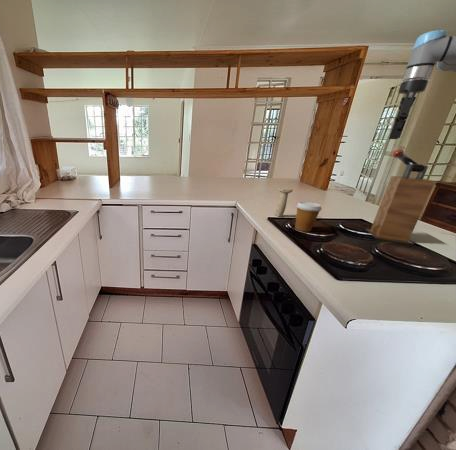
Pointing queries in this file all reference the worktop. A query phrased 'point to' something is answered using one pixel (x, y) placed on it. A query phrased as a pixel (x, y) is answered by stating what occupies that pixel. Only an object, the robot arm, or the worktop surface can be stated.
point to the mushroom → (282, 201)
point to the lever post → (401, 206)
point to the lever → (407, 160)
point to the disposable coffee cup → (306, 215)
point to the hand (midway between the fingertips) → (393, 138)
